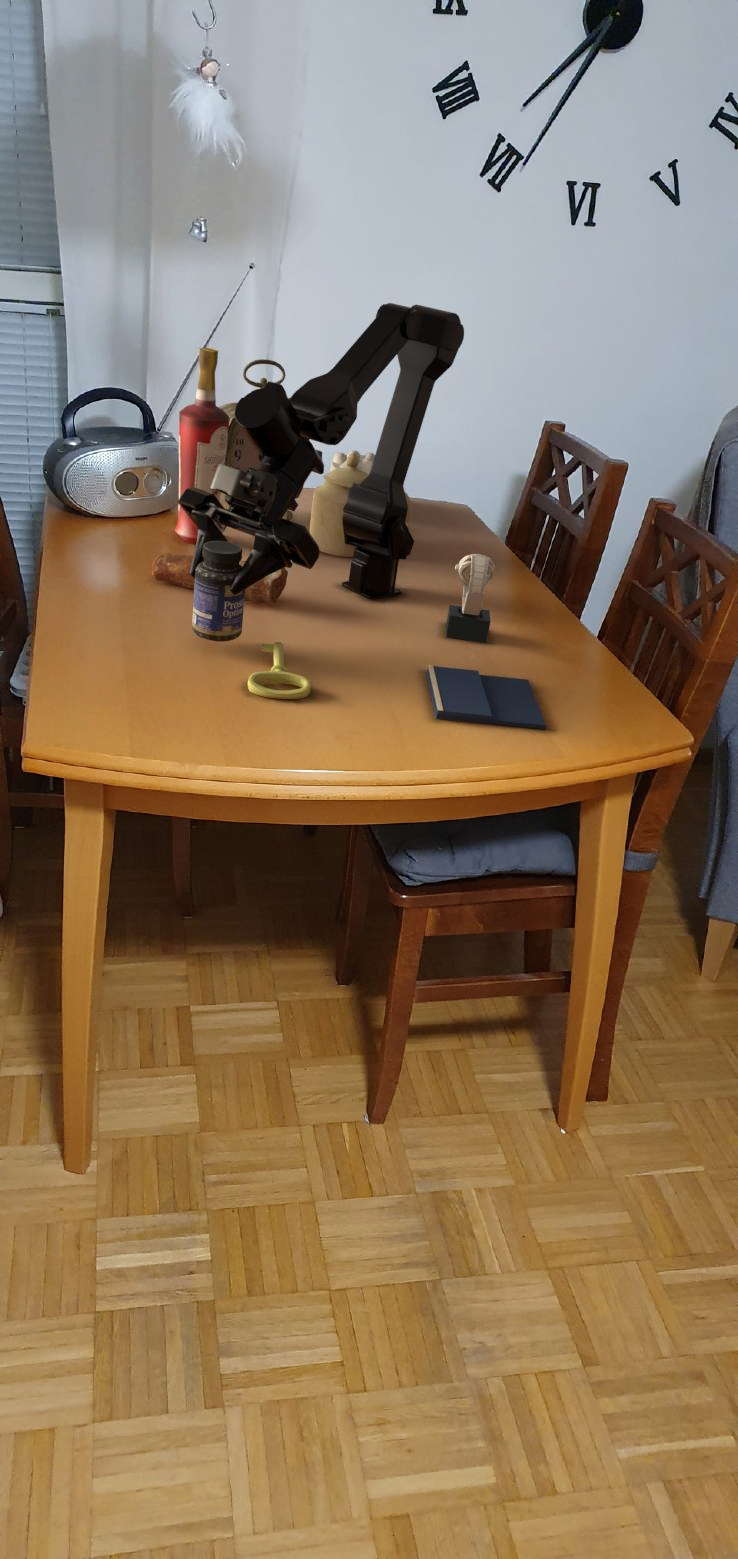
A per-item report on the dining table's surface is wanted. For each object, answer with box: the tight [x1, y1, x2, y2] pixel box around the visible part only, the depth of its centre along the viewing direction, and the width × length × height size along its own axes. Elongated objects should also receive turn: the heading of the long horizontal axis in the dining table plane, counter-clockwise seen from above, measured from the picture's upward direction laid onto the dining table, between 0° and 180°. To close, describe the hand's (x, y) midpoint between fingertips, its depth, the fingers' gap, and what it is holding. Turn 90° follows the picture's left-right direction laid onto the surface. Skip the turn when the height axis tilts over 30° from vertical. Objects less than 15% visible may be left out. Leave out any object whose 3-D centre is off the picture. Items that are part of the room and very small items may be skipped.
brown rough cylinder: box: [151, 553, 289, 605], centre depth 163 cm, size 6×19×6 cm, turn 75°
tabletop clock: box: [218, 359, 310, 521], centre depth 192 cm, size 14×9×25 cm, turn 114°
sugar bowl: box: [309, 452, 412, 558], centre depth 186 cm, size 15×11×15 cm
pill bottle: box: [191, 541, 245, 643], centre depth 144 cm, size 6×6×11 cm
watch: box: [445, 553, 496, 644], centre depth 160 cm, size 6×8×11 cm
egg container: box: [329, 449, 375, 474], centre depth 209 cm, size 10×13×9 cm
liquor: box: [174, 347, 230, 545], centre depth 177 cm, size 7×7×28 cm
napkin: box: [425, 664, 547, 730], centre depth 144 cm, size 13×13×1 cm
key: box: [247, 641, 311, 700], centre depth 141 cm, size 7×12×2 cm, turn 23°
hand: (212, 584), depth 143 cm, fingers closed on pill bottle, 6 cm apart
